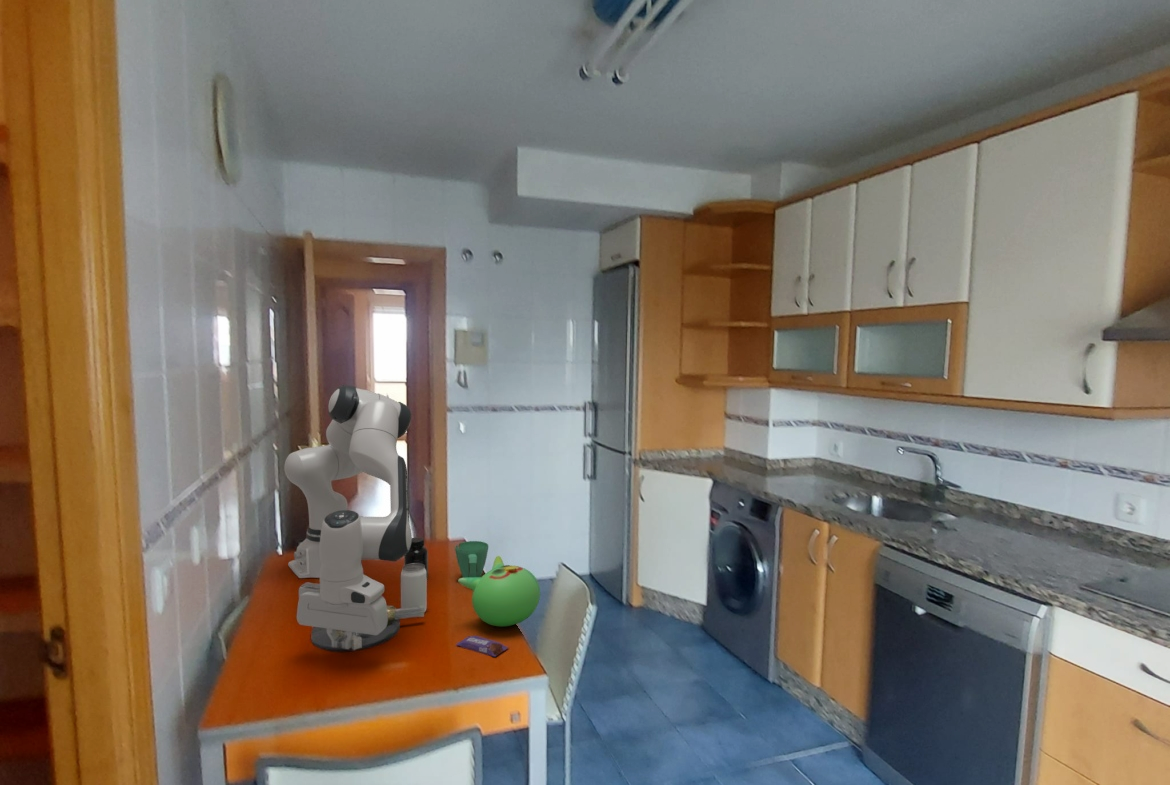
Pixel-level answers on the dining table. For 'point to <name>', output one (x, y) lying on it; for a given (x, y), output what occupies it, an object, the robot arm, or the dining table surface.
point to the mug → (471, 558)
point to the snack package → (482, 645)
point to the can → (413, 586)
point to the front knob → (355, 641)
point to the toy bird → (504, 594)
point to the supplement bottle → (417, 553)
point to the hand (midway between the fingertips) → (341, 647)
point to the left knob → (404, 613)
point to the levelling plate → (324, 641)
